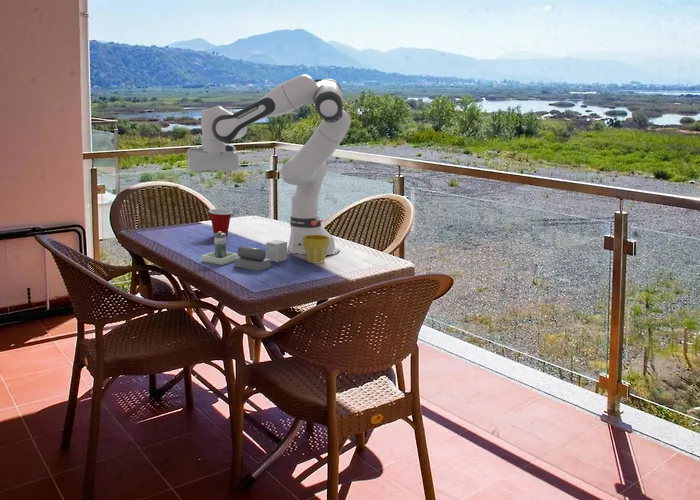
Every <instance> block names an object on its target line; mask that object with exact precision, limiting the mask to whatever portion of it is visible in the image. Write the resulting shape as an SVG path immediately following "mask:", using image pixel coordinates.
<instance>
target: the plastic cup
mask: <svg viewBox="0 0 700 500" xmlns="http://www.w3.org/2000/svg"><path fill="white" fill-rule="evenodd" d="M208 213H209V216H210V221H211V226H212V231H213V235H214V234H215V233H218V232H219V231H221V232H222V233H226V238H227V237H228V233H229V228H230V221H231V217H232V214H233V213H234V212H233V211H232V210H230V209H229V210H228V209H223V208H221V209H220V208H217V209H216V208H214V209H213V208H212V209H209V210H208Z"/></svg>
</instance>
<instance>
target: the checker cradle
mask: <svg viewBox="0 0 700 500" xmlns="http://www.w3.org/2000/svg"><path fill="white" fill-rule="evenodd" d="M237 254H238V258H235V259H234V262H233V263H234V265H233V266H234V267H235V268H240V269H241V268H242V269H248V270H253V271H257V270H258V271H259V272H261V271H263V270H266V269H270V268H271V267H272V265H271V262H272V261H271V259H266V250H265V249H263V248H262V249H261V248H257V247H256V248H255V247H250V246H244V245H241V246H239V247H238V249H237Z"/></svg>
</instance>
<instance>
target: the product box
mask: <svg viewBox="0 0 700 500" xmlns="http://www.w3.org/2000/svg"><path fill="white" fill-rule="evenodd" d="M265 245H266V246H265V247H266V248H265V249H266V250H265V252H266V257H265V258H266V259H271V262H274V261H275V263H280V262H283V260H284V261H286V260H285V259H287V260H288V242H287V241H283V240H280V239H279V240H278V239H273V240H269V241H266V243H265ZM279 261H280V262H279Z"/></svg>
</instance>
